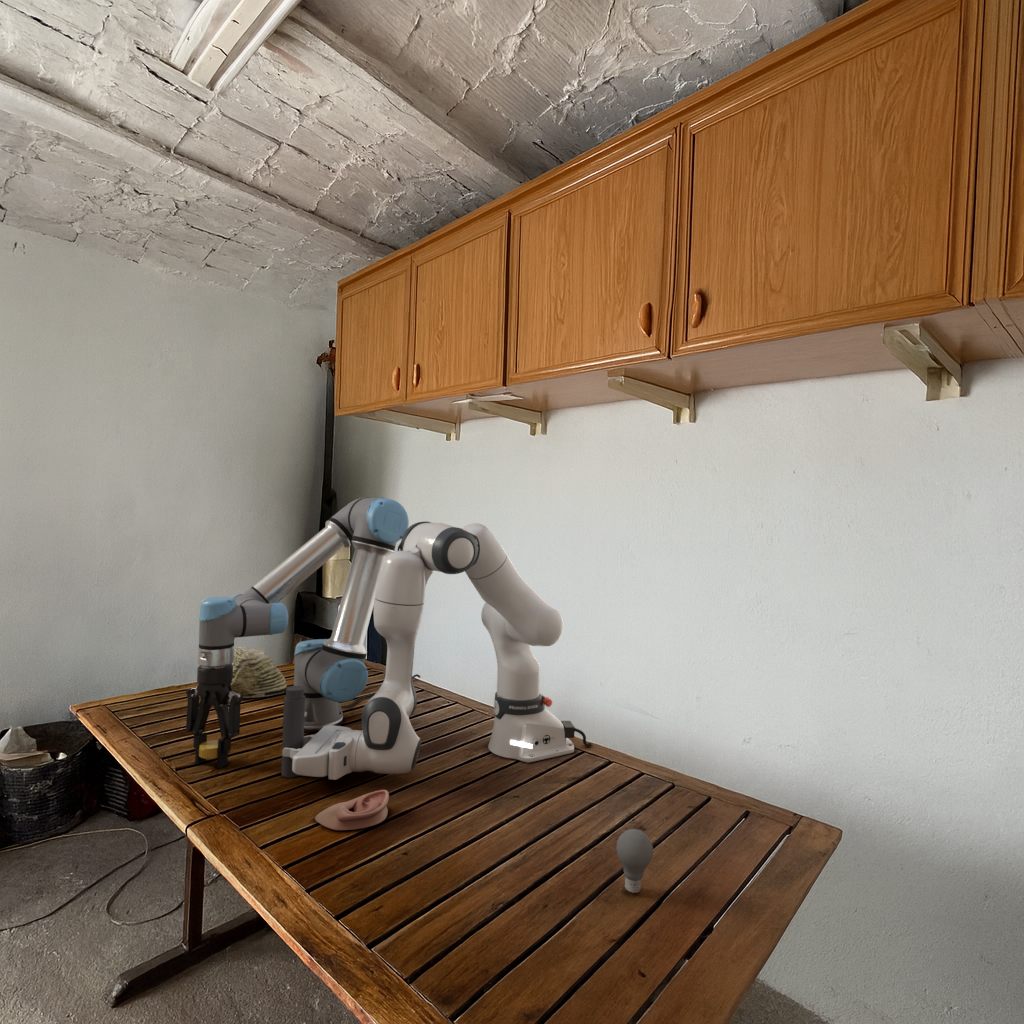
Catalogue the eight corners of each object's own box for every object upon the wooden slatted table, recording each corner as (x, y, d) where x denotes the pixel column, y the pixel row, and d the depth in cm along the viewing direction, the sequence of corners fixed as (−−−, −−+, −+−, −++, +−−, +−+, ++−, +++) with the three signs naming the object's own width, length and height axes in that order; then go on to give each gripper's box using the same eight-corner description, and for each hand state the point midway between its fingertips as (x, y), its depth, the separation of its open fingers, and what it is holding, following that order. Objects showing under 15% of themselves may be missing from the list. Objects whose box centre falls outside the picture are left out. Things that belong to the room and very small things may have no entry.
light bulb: (610, 879, 108) (613, 822, 108) (644, 879, 109) (647, 822, 109) (619, 902, 102) (622, 840, 102) (655, 901, 103) (658, 840, 103)
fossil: (218, 695, 195) (220, 647, 195) (278, 685, 208) (279, 640, 207) (228, 703, 189) (230, 653, 188) (289, 692, 201) (290, 645, 201)
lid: (194, 758, 144) (194, 748, 144) (205, 749, 150) (206, 739, 150) (217, 759, 144) (217, 749, 144) (227, 750, 150) (228, 740, 150)
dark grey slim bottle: (278, 777, 142) (282, 690, 141) (284, 769, 146) (287, 684, 146) (299, 777, 142) (302, 691, 142) (304, 769, 147) (307, 685, 146)
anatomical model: (307, 805, 121) (336, 780, 133) (306, 826, 121) (335, 798, 133) (372, 815, 119) (395, 788, 130) (371, 836, 119) (394, 807, 130)
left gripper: (170, 664, 145) (165, 764, 146) (239, 673, 141) (234, 776, 141) (193, 656, 153) (189, 752, 153) (260, 665, 148) (255, 763, 149)
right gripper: (362, 720, 154) (307, 716, 154) (334, 754, 133) (270, 749, 134) (361, 746, 154) (306, 742, 155) (332, 783, 133) (268, 779, 134)
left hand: (211, 763), depth 147 cm, fingers closed on lid, 5 cm apart
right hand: (288, 746), depth 144 cm, fingers closed on dark grey slim bottle, 4 cm apart
